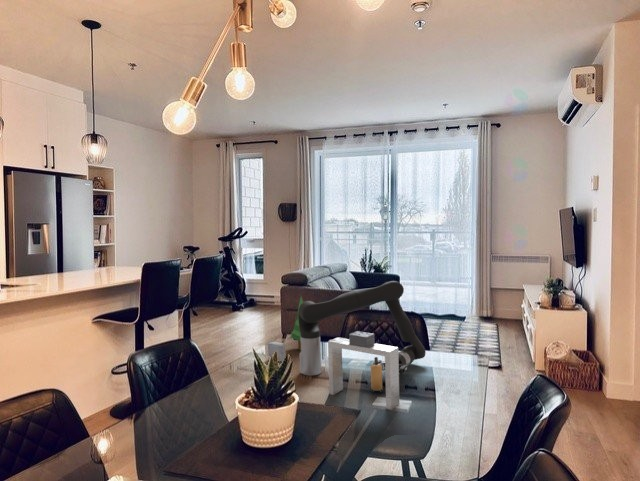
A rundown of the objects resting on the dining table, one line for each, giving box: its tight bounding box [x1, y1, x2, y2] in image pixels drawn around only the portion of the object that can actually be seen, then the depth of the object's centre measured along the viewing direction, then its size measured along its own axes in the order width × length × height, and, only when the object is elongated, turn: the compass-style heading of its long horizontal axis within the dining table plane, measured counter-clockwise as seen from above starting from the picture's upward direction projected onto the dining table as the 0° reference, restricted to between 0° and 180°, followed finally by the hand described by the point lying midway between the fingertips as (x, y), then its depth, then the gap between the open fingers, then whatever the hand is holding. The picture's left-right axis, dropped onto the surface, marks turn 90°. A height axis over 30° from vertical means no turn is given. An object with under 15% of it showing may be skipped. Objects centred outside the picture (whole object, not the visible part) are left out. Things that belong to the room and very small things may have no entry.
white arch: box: [327, 330, 400, 411], centre depth 179 cm, size 28×7×26 cm, turn 54°
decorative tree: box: [289, 296, 304, 351], centre depth 249 cm, size 14×16×30 cm
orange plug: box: [370, 356, 383, 390], centre depth 188 cm, size 5×5×14 cm
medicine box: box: [267, 341, 286, 363], centre depth 231 cm, size 8×4×9 cm, turn 58°
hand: (382, 372), depth 192 cm, fingers open, 8 cm apart
